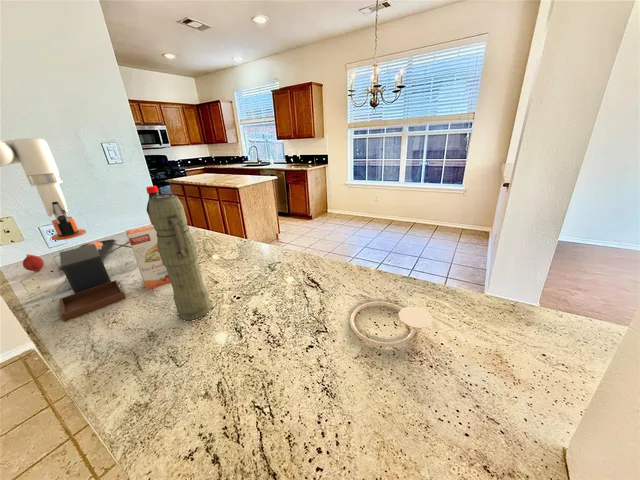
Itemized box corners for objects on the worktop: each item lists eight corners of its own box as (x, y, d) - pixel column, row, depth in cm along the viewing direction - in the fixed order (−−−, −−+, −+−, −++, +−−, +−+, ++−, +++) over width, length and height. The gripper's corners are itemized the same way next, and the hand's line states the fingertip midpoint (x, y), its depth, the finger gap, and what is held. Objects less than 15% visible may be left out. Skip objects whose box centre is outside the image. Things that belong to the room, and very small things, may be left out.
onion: (32, 270, 110) (22, 252, 107) (49, 266, 112) (41, 249, 109) (24, 276, 105) (14, 258, 102) (43, 272, 107) (34, 255, 104)
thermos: (200, 297, 85) (170, 190, 71) (220, 311, 78) (191, 194, 64) (172, 312, 79) (134, 197, 65) (190, 328, 72) (152, 203, 58)
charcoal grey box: (76, 297, 88) (61, 266, 84) (73, 281, 99) (59, 252, 95) (112, 285, 95) (100, 255, 90) (105, 271, 106) (94, 243, 101)
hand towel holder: (358, 287, 78) (433, 299, 71) (358, 300, 80) (431, 313, 72) (341, 324, 63) (433, 345, 56) (342, 339, 65) (431, 360, 58)
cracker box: (147, 291, 90) (126, 234, 82) (144, 284, 94) (124, 229, 86) (190, 276, 98) (175, 223, 90) (185, 270, 102) (171, 219, 94)
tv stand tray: (64, 322, 77) (60, 315, 76) (62, 305, 85) (59, 298, 84) (125, 298, 86) (123, 292, 85) (118, 285, 95) (116, 279, 94)
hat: (52, 242, 86) (44, 225, 84) (51, 235, 92) (44, 219, 90) (87, 234, 92) (80, 218, 89) (84, 229, 98) (78, 213, 95)
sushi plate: (82, 248, 129) (79, 241, 128) (152, 235, 141) (150, 229, 139) (58, 274, 105) (53, 265, 104) (144, 256, 116) (141, 249, 115)
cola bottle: (185, 250, 121) (167, 184, 109) (167, 257, 114) (146, 189, 102) (174, 247, 125) (155, 183, 113) (156, 254, 118) (135, 187, 106)
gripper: (30, 178, 88) (53, 229, 95) (27, 184, 76) (54, 241, 83) (60, 175, 92) (80, 224, 99) (62, 180, 81) (84, 234, 88)
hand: (68, 231), depth 91 cm, fingers closed on hat, 5 cm apart
